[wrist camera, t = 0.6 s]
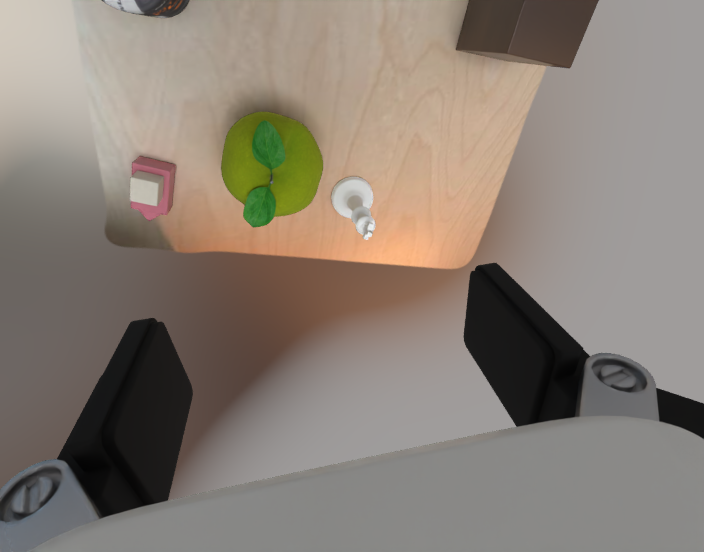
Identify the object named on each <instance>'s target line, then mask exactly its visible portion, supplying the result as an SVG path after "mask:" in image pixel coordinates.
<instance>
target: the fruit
mask: <svg viewBox="0 0 704 552" xmlns="http://www.w3.org/2000/svg"><path fill="white" fill-rule="evenodd" d="M221 170H222V177H223V180H224V183H225V185H226V187H227V189H228V190H229V191H230V193H231V194H232V195H233V196H234V197H235V198H236V199H237V200H239V201H240V202H241V203H243V204H244V205H245V207H244V213H243V216H244V219H245V220H246V221H247V222H248V223H249V224H250V225H251V226H252V227H261V226H264V225H267V224H268V223H269V222H270V221H271V220H272V219H273V217H277V216H286V215H290V214H293V213H296V212H299V211H301V210H302V209H304V208H305V207H307V206H308V205H309V204H310V203H311V201H312V200H313V198H314V196H315V194H316V192H317V189H318V185H319V182H320V179H321V175H322V171H323V160H322V155H321V152H320V150H319V147H318V145H317V143H316V141H315V139H314V137H313V136H312V134H311V133H310V131H309V130H308V129H307V128H306V127H305V126H304V125H303V124H301V123H300V122H298V121H296V120H293V119H291V118H288V117H285V116H282V115H279V114H275V113H271V112H255V113H252V114H249V115H247V116H245V117H243V118H241V119H240V120H239V121H237V122H236V123H235V124H234V125H233V126H232V127H231V129H230V130H229V132H228V134H227V136H226V140H225V144H224V150H223V156H222V164H221Z"/></svg>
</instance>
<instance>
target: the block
mask: <svg viewBox="0 0 704 552" xmlns="http://www.w3.org/2000/svg"><path fill="white" fill-rule="evenodd" d="M598 1H599V0H469V4H468V8H467V11H466V15H465V19H464V22H463V26H462V30H461V33H460V37H459V40H458V44H457V48H456V50H459V51H463V52H468V53H472V54H477V55H481V56H486V57H490V58H495V59H499V60H504V61H509V62H518V63H527V64H535V65H544V66H553V67H562V68H570V67H571V65H572V63H573V60H574V58H575V56H576V53H577V51H578V49H579V46H580V44H581V41H582V39H583V37H584V34H585V31H586V29H587V27H588V24H589V22H590V20H591V17H592V15H593V13H594V10H595V8H596V5H597V3H598Z"/></svg>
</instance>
